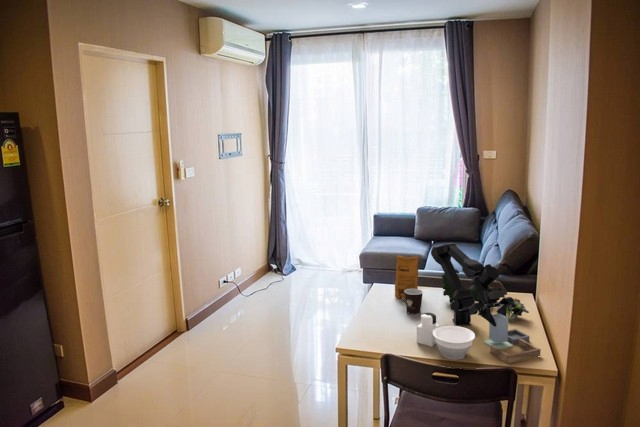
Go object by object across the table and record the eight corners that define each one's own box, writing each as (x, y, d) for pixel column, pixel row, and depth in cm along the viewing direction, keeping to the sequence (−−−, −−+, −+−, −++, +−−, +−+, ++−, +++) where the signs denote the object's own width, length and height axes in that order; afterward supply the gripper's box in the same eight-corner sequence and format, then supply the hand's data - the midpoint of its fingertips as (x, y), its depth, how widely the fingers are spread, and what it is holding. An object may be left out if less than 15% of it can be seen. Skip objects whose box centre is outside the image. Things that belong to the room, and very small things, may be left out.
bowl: (426, 357, 190) (426, 337, 188) (440, 342, 203) (441, 322, 201) (467, 367, 181) (467, 346, 179) (480, 350, 194) (480, 330, 192)
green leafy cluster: (515, 327, 227) (532, 308, 224) (512, 332, 218) (530, 312, 215) (494, 310, 231) (511, 291, 228) (491, 314, 222) (508, 294, 219)
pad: (483, 342, 201) (483, 341, 201) (499, 339, 204) (499, 337, 203) (496, 350, 194) (496, 349, 193) (513, 346, 196) (513, 345, 196)
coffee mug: (426, 313, 234) (426, 292, 232) (410, 316, 231) (410, 295, 229) (413, 305, 245) (412, 285, 243) (397, 308, 242) (397, 288, 240)
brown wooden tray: (490, 352, 192) (490, 345, 192) (520, 345, 197) (520, 338, 196) (508, 364, 182) (508, 356, 182) (540, 356, 187) (540, 349, 187)
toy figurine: (443, 309, 243) (497, 308, 236) (440, 272, 240) (494, 269, 233) (444, 302, 252) (496, 301, 245) (441, 266, 249) (493, 264, 242)
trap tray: (499, 336, 206) (500, 332, 205) (515, 333, 208) (515, 328, 208) (513, 344, 198) (513, 339, 198) (529, 341, 201) (529, 336, 200)
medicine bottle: (424, 336, 208) (424, 309, 206) (440, 340, 204) (440, 313, 202) (416, 342, 203) (416, 315, 201) (432, 347, 199) (432, 318, 196)
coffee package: (397, 292, 264) (396, 252, 260) (420, 295, 259) (420, 254, 255) (392, 298, 255) (392, 257, 251) (416, 301, 250) (416, 259, 246)
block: (488, 338, 200) (489, 315, 198) (499, 336, 201) (499, 313, 200) (497, 343, 195) (498, 319, 193) (507, 341, 197) (508, 317, 195)
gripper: (473, 284, 195) (491, 320, 186) (512, 277, 201) (531, 312, 193) (461, 296, 203) (477, 332, 195) (498, 290, 210) (516, 324, 201)
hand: (501, 325), depth 196 cm, fingers closed on block, 5 cm apart
